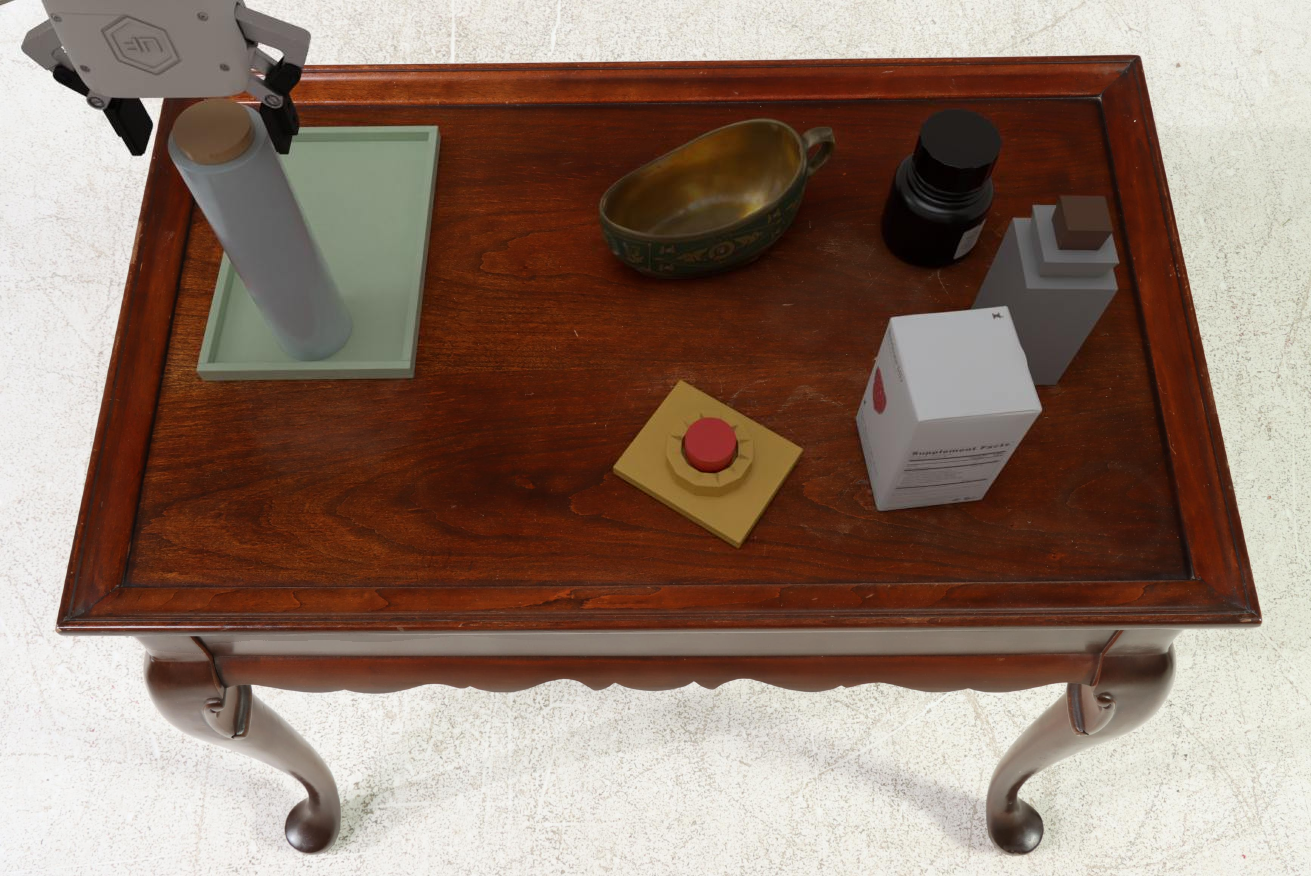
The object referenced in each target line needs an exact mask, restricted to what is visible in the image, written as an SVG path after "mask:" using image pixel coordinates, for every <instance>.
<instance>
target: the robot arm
mask: <svg viewBox="0 0 1311 876" xmlns="http://www.w3.org/2000/svg"><path fill="white" fill-rule="evenodd" d="M14 1H15V0H0V6H3V5H6V4H8V3H9V4H10V3H11V2H14ZM40 1H41V3H42V5H43V8H44V10H45V12H46V15H47V16H48V19H45V21H43V22H41V23H39V24H38V25H36V26H34V27H33V28H32V29H29V30H28V31H27V32H26V34H25V36H24V37H23V41H22V43H21V45H20V49H21V51H22V52H23V53H24V55H26V56H27V57H28V58H30V59H31V60H32V61H34V62H35V63H36V64H38V65H39V66H40V67H41V68H42V69H44V70H45V71H49V72H51V74H52V78H53V79H54V80H55V82H57V83H58V84H60V85H62V86H64V87H66V88H68V89H69V90H72V91H73V92H76V93H78V94H79V95H81V96H83V97H85V101H86V104H87V105H88V106H90V108H93V109H95V110H98V111H102V113H103V114H104V116H105V118H106V119H107V120H108V122H109V124H110V125H111V127H112V129H113V130H114V132H115V134H116V135H117V136H118V137H119V138H121V140H122V142H123V143H124V145H125V146H126V148H127V150H128V151H129V153H130V155H131V156H132V157H143V155H145V154H146V151H147V148H148V145H149V142H150V139H151V135H152V132H153V129H154V122H153V120H152V118H151V117H150V114H149V113H148V110H147V109H146V107H145V105H144V104H143V101H142V100H141V99H186V98H187V99H189V98H190V99H191V98H193V99H194V98H195V99H196V98H226V97H232V96H237V95H239V94H242V93H244V92H245V93H247V94H249V95H250V96H252V97H253V98H255V99H256V100H258V101H259V102H260V105H259V109H258V110H259V111H258V113H259V114H260V116H261V118H262V120H263V122H264V125H265V127H266V129H267V132H268V134H269V136H270V139H271V141H272V143H273V146H274V148H275V150H276V152H277V153H279V154H280V155H288V154H289V151H290V146H291V142H292V137H293V136H297V135H298V132H299V127H300V117H299V115H298V112H297V110H296V107H295V104H294V102H293V99H292V97H291V94H290V93H291V92H292V91H293V89H294V88H295V87H296V86H297V85H298V84H299V82H300V81H301V79H302V74H303V71H304V67H305V64H306V61H307V57H308V54H309V49H310V44H311V40H312V34H311V32H310V31H308V30H307V29H306V28H303V27H300V26H298V25H296V24H292V23H290V22H287V21H284V20H281V19H279V18H277V17H273V16H271V15H268V14H265V13H263V12H260V11H258V10H255V9H252V8H249V7H247V5H246V3H245V1H244V0H40ZM259 44H261V45H264V46H267V47H270V48H273V49H276V50H278V51H279V52H281V53H282V57H281V58H280V59H279V60H276V59H275V58H273V57H272V56H271V55H269V54H268V53H266V52H265V51H263V50H261V49H260V48H259ZM252 69H254V71H257V72H258V73H259V74H261V75H263V77H264V78H261V77H260V76H258V75H257V74H256V73H254V72H252Z"/></svg>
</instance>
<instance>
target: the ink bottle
mask: <svg viewBox="0 0 1311 876" xmlns="http://www.w3.org/2000/svg"><path fill="white" fill-rule="evenodd" d="M1002 146H1003V140H1002V137H1001V134H1000V130H999V128H997V127H996V125H994V123H993V122H992V120H990V119H989V118H987V117H985V116H983V115H981V114H980V113H979V112H976V111H973V110H968V109H964V108H946V109H942V110H940V111H938V112H935V113H931V115H930V116H929V117H928V118H927V119H925V120H924V121H923V122H922V123H921V128H920V131H919V134H918V138H917V141H916V144H915V146H914V147H915V148H914V150H913V152H910V154H908V155H907V156H905V158H904V159H902V160H901V161H900V163H898V166H897V167H896V169H895V171H894V174H893V177H892V180H891V184H890V187H889V191H888V195H887V197H886V201H885V203H884V204H885V205H884V208H883V211H882V215H881V219H880V220H881V221H880V225H881V226H880V228H881V233H882V237H883V238H884V239H883V240H884V241H885V243H886V245H887V246H888V247H889V249H890V251H892V252H893V254H895V255H896V256H898V257H899V258H901V259H903V260H905V261H906V262H908V263H911V264H914V265H919V266H923V267H945V266H949V265H953V264H956V263H958V262H960V261H962V260H963V259H965V258H966V257H967V256H968V255H969V254H970V253H971V252H972V250H973V248H974V247H975V245H976V243H977V241H978V239H979V236H980V233H981V232H982V229H983V227H984V225H985V223H986V220H987V218H988V216H989V212H990V210H991V208H992V205H993V203H994V197H995V185H994V181H993V178H992V173H993V171H994V168H995V166H996V164H997V161H998V159H999V157H1000V155H1001V148H1002Z"/></svg>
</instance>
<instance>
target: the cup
mask: <svg viewBox="0 0 1311 876" xmlns="http://www.w3.org/2000/svg"><path fill="white" fill-rule="evenodd" d="M819 144H821V145H820V147H819V149H818V150H817V152H816V153H815V154H814V155H813V157H812V158H811V159H810V160H809V152H810V150H811V149H812V148H813V147H814V146H816V145H819ZM835 150H836V139H835V136H834V134H833V128H832V127H830V126H816V127H813V128H810V129H808V130H806V131H804V133H803V134H802V136H800V134H799V133H798V132H797V130H795V128H793V127H792V126H791V125H789V124H788V123H786V122H784V121H781V120H779V119H776V118H775V119H774V118H765V117H762V118H761V117H760V118H751V119H747V120H741V121H737V122H733V123H729V124H727V125H724V126H720V127H718V128H716V129H713V130H711V131H708V132H706V133H704V134H702V135H700V136H698V137H696V138H694V139H692V140H690V141H687V142H686V143H684V144H682V145H680V146H679V147H677V148H674V149H672V150H671V151H668V152H667V153H665V154H663V155H660V156H659V157H657V158H655V159H654V160H652V161H649V162H648V163H646V164H644V165H642V166H640V167H638V168H635V169H634V170H633V171H631V172H629V173H627V174H625V175H624V176H622V177H621V178H620V179H618V180H617V181H615V182H614V183H613V184H612V185H610V187H609V188H607V189H606V191H604V193H603V195H602V197H601V198H600V201H599V205H598V218H599V219H598V221H599V226H600V231H601V234H602V239H603V240H604V242H605V244H606V246H607V247H608V249H609V250H610V251H611V252H612V254H613V255H614V256H615V257H616V258H618V259H619V260H620V261H621V262H623V263H624V264H625V265H627V266H629V267H631V268H633V269H635V270H636V271H638V272H639V273H641V274H643V275H645V276H648V277H650V278H655V279H661V280H662V279H664V280H665V279H666V280H686V279H687V280H688V279H698V278H704V277H710V276H715V275H720V274H723V273H727V272H731V271H734V270H736V269H739V268H742V267H744V266H747V265H749V264H751V263H754V262H755V261H757V260H759V258H760V257H762V256H763V255H764V253H765V252H767V251H769V249H770V248H772V246H773V245H774V244H775V243H776V242H777V241H778V240H779V239H780V238H781V237H782V236H783V234H784V233H785V232H786V231H787V230H788V228H789V227H790V226H791V224H792V222H793V220H794V219H795V217H796V215H797V213H798V211H799V209H800V206H801V204H802V201H803V200H804V198H803V197H804V196H805V191H806V186H807V182H808V181H809V180H811V178H812V177H813V176H815V174H817V173H818V171H819V170H821V169H822V168H823V166H825V165H826V164H827V162H828V161H829V160H830V159H831V157H832V156H833V154H834V152H835Z"/></svg>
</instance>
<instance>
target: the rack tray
mask: <svg viewBox="0 0 1311 876" xmlns="http://www.w3.org/2000/svg"><path fill="white" fill-rule="evenodd" d="M441 139H442V137H441V134H440V129H439V126H438V125H395V126H394V125H389V126H387V125H385V126H383V125H382V126H380V125H379V126H299V132H298V135H297V136H293V137H292V142H291V146H290V151H289V154H288V155H280V154H279V155H280V157H281V159H282V162H283V164H284V166H285V169H286V171H287V173H288V175H289V178H290V180H291V182H292V184H293V187H294V189H295V191H296V193H297V196H298V198H299V200H300V202H301V205H302V207H303V209H304V211H305V214H306V216H307V218H308V221H309V223H310V225H311V227H312V230H313V232H314V234H315V236H316V239H317V241H318V243H319V245H320V248H321V250H322V252H323V254H324V257H325V259H326V261H327V264H328V266H329V268H330V270H331V273H332V275H333V277H334V279H335V282H336V284H337V286H338V288H339V291H340V293H341V295H342V297H343V300H344V302H345V304H346V306H347V309H348V311H349V313H350V316H351V319H352V332H351V335H350V337H349V339H348V341H347V342H346V344H345V345H344V346H343V347H342V348H341V349H340V350H339V351H337V352H336V353H334V354H333V355H331V356H329V357H327V358H324V359H320V360H315V361H302V360H297V359H294V358H292V357H290V356H288V355H287V354H285V353H284V352H283V351H282V350H281V348H280V347H279V345H278V343H277V342H276V340H275V338H274V336H273V335H272V333H271V331H270V329H269V328H268V326H267V324H266V322H265V321H264V319H263V317H262V316H261V314H260V312H259V310H258V309H257V307H256V305H255V303H254V302H253V300H252V298H251V296H250V295H249V293H248V291H247V289H246V288H245V286H244V284H243V282H242V281H241V279H240V277H239V275H238V274H237V272H236V270H235V268H234V267H233V265H232V263H231V261H230V260H229V258H228V256H227V254H226V253H225V251H224V250H223V254H222V257H221V262H220V267H219V271H218V274H217V275H218V276H217V280H216V284H215V288H214V293H213V297H212V301H211V304H210V310H209V312H208V313H209V314H208V317H207V323H206V327H205V331H204V336H203V339H202V344H201V348H200V352H199V356H198V361H197V366H196V373H197V374H198V376H199V377H200V378H201V380H202V381H204V382H205V381H206V382H208V381H209V382H210V381H211V382H212V381H213V382H214V381H215V382H217V381H283V380H284V381H286V380H290V381H291V380H293V381H295V380H365V379H367V380H368V379H369V380H371V379H378V380H379V379H380V380H381V379H414V378H415V370H416V369H415V368H416V360H417V353H418V352H417V351H418V343H419V342H418V341H419V335H420V334H419V333H420V325H421V315H422V309H423V307H422V306H423V299H424V298H423V297H424V290H425V282H426V281H425V280H426V272H427V263H428V253H429V245H430V238H431V237H430V236H431V230H432V229H431V228H432V220H433V210H434V202H435V201H434V200H435V192H436V183H437V175H438V166H439V157H440V150H441V149H440V148H441Z"/></svg>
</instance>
